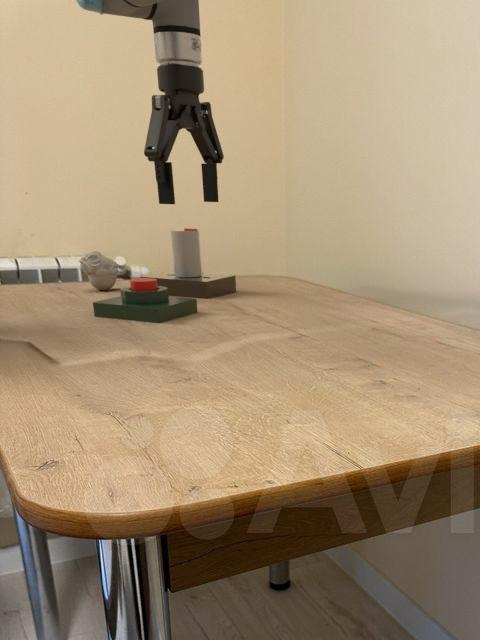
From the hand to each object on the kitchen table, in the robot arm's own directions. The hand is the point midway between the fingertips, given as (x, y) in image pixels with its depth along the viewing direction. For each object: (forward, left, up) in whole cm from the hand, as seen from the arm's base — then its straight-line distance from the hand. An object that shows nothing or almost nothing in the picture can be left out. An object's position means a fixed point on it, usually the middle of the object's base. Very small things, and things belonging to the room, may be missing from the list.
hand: (190, 203), depth 126 cm
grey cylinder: (-1, -1, -13) cm, 13 cm away
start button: (+6, -23, -12) cm, 26 cm away
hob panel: (-1, -1, -16) cm, 16 cm away
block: (+6, -23, -16) cm, 28 cm away
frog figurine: (-17, -6, -16) cm, 24 cm away
